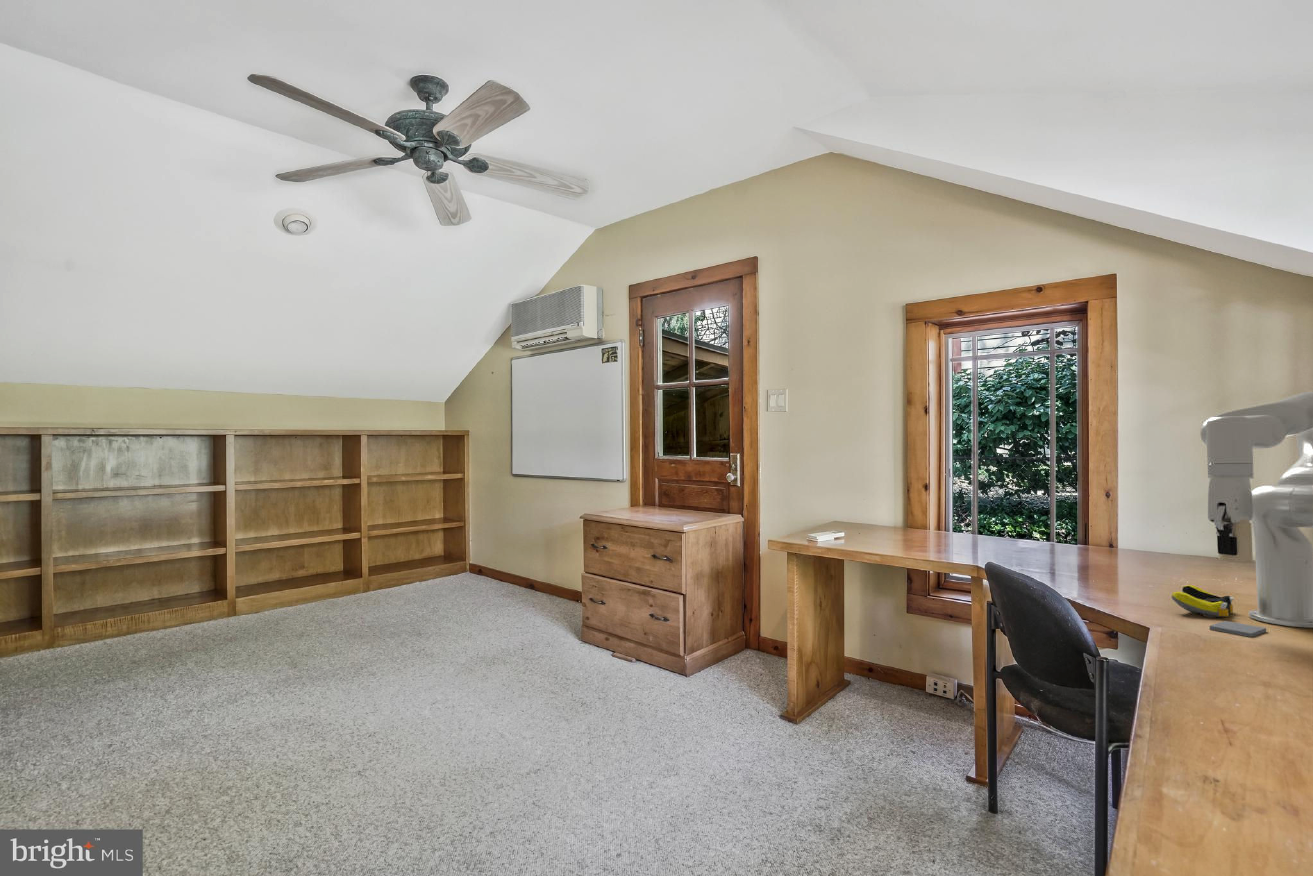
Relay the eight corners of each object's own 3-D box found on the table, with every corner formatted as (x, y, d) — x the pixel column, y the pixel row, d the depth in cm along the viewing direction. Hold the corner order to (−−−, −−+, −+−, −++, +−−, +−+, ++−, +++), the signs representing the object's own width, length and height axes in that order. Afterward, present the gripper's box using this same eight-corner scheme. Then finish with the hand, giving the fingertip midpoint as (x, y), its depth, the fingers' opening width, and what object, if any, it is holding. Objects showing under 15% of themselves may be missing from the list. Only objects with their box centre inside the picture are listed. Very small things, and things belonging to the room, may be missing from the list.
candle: (1226, 562, 136) (1224, 517, 136) (1213, 558, 141) (1212, 514, 141) (1258, 563, 134) (1256, 517, 134) (1244, 559, 139) (1242, 515, 140)
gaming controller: (1170, 614, 152) (1225, 622, 145) (1169, 591, 152) (1224, 598, 145) (1184, 604, 162) (1236, 611, 154) (1183, 583, 162) (1235, 589, 154)
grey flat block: (1225, 624, 142) (1225, 620, 142) (1266, 631, 136) (1266, 628, 136) (1209, 629, 138) (1209, 625, 138) (1251, 637, 132) (1251, 633, 132)
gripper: (1225, 470, 146) (1229, 547, 145) (1191, 472, 138) (1194, 554, 137) (1268, 470, 139) (1272, 551, 139) (1235, 473, 131) (1239, 559, 131)
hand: (1233, 552), depth 138 cm, fingers closed on candle, 5 cm apart
